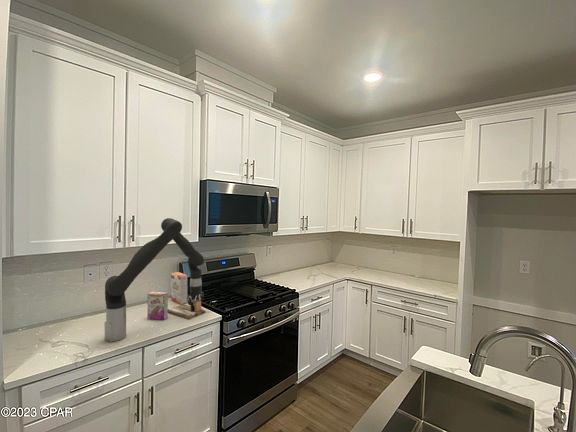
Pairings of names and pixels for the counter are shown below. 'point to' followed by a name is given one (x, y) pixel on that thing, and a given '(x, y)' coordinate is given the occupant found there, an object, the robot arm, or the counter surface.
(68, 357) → the counter surface
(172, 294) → the cracker box
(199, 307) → the tan block
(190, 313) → the board
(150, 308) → the candy bar box
